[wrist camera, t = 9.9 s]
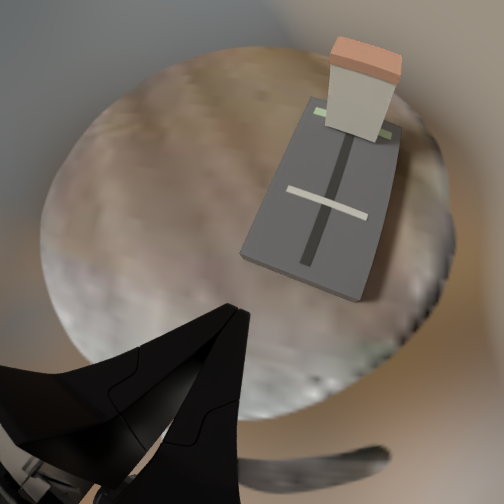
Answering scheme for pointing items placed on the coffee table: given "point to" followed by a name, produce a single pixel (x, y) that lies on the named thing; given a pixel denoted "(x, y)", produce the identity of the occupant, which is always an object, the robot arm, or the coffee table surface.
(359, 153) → the plate
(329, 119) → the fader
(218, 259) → the coffee table surface
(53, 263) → the coffee table surface
